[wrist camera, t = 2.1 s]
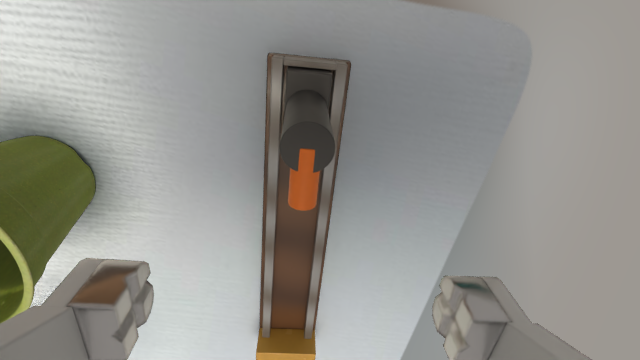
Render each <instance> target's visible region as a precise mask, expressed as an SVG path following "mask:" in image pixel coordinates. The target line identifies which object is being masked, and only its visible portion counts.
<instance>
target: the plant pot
mask: <svg viewBox="0 0 640 360" xmlns="http://www.w3.org/2000/svg"><path fill="white" fill-rule="evenodd" d="M94 194H95V179H94V176H93V173H92V171H91V169H90V167H89V166H88V165H86V164H85V163H84V162H83V161H82V160H81V158H80V157H79V156H78V155H77V153H76V152H75V151H74V150H73V149H72V148H70V147H69V146H67V145H65V144H63V143H61V142H59V141H57V140H54V139H51V138H48V137H42V136H26V137H21V138H16V139H11V140H7V141H3V142H0V323H2V322H4V321H6V320H8V319H10V318H12V317H14V316H16V315H17V314H19V313H21V312H23V311H25V310H27V309H29V307H30V305H31V303H32V300H33V296H34V286H35V285H36V283H37V282H38V280H39V279H40V277H41V276H42V274H43V272H44V270H45V267H46V264H47V262H48V261H49V259H50V258H51V257H52V255H53V254H54V252H55V251H56V250H57V248H58V247H59V246H60V244H61V243H62V241H63V240H64V239H65V237H66V236H67V234H68V233H69V231H70V230H71V229H72V227H73V226H74V224H75V223H76V222H77V220H78V219H79V218H80V216H81V215H82V213H83V212H84V211H85V209H86V208H87V206H88V205H89V204H90V202H91V200H92V198H93V196H94Z"/></svg>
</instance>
